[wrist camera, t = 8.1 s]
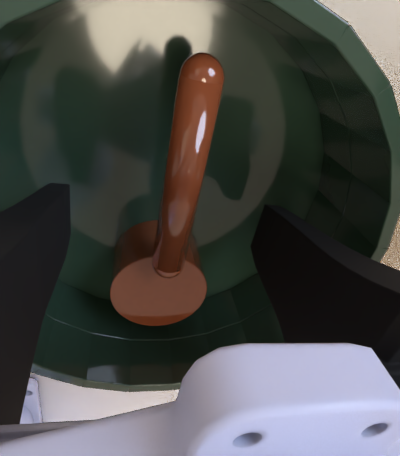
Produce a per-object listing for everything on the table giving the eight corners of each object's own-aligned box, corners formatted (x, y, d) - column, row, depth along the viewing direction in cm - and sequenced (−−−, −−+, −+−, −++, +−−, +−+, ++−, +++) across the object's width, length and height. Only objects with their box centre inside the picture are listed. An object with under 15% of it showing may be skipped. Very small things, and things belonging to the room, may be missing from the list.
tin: (269, 307, 20) (303, 385, 16) (1, 301, 16) (-46, 399, 12) (389, 29, 12) (518, 40, 8) (-70, -91, 9) (-259, -180, 5)
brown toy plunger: (190, 287, 17) (201, 349, 14) (111, 284, 16) (104, 350, 13) (246, 54, 11) (287, 71, 8) (128, 28, 10) (124, 37, 7)
